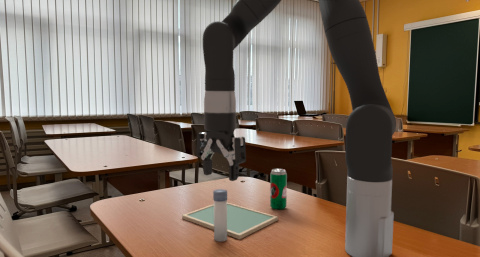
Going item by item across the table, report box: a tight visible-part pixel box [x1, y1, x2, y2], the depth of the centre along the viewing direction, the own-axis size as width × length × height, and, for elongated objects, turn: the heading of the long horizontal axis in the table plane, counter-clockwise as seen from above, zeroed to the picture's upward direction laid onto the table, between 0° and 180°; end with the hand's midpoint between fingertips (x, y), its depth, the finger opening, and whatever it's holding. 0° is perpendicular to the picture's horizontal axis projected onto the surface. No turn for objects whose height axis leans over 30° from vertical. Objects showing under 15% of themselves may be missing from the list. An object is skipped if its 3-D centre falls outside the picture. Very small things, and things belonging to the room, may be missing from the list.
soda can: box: [269, 168, 288, 211], centre depth 106 cm, size 5×5×12 cm
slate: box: [181, 202, 279, 240], centre depth 97 cm, size 22×17×1 cm
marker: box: [212, 188, 228, 243], centre depth 84 cm, size 3×3×12 cm
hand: (220, 177), depth 83 cm, fingers open, 8 cm apart
